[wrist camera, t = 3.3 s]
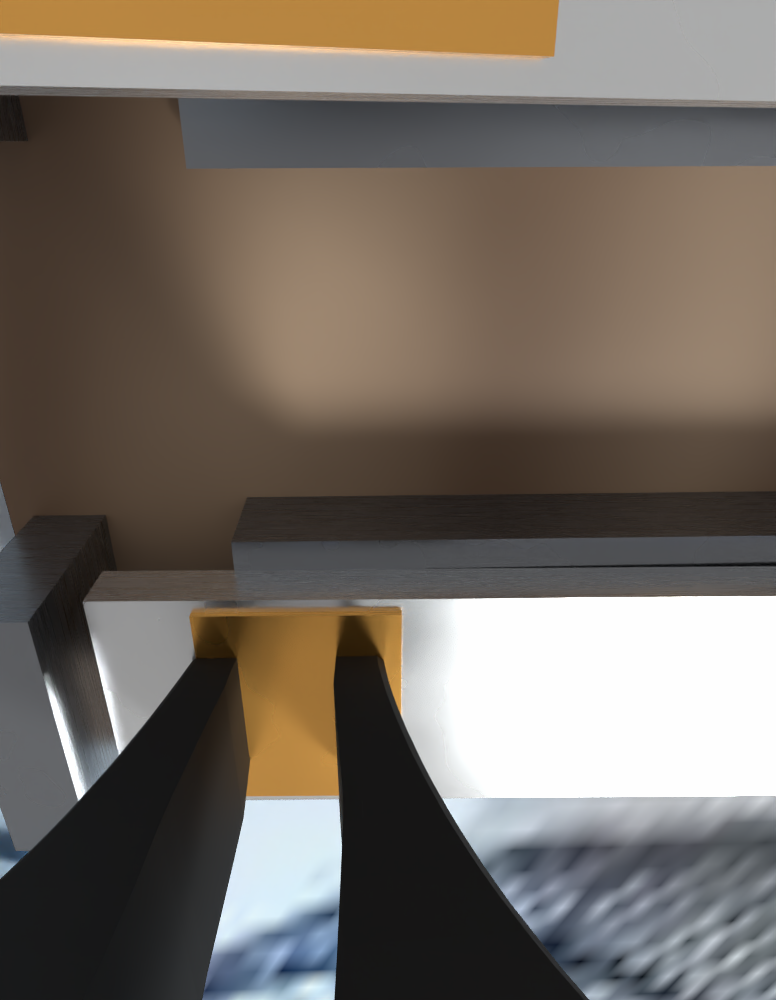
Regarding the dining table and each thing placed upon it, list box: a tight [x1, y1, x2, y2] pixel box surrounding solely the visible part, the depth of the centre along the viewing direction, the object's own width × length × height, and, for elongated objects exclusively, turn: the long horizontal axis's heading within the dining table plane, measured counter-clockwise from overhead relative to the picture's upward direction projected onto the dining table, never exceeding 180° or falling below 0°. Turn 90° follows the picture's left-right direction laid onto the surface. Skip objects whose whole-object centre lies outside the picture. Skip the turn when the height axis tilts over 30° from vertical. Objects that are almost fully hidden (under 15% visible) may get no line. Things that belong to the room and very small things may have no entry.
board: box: [0, 96, 776, 571], centre depth 11 cm, size 18×16×2 cm
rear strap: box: [83, 566, 776, 800], centre depth 11 cm, size 14×4×1 cm, turn 90°
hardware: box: [0, 95, 776, 851], centre depth 9 cm, size 16×16×3 cm
